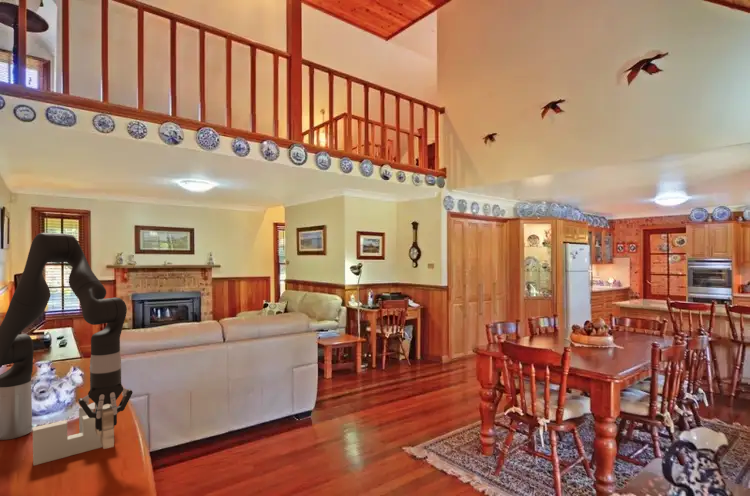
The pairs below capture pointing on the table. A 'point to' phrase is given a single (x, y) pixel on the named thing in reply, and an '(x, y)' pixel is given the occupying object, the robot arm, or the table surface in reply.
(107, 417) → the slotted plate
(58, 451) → the notched board
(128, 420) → the table surface
